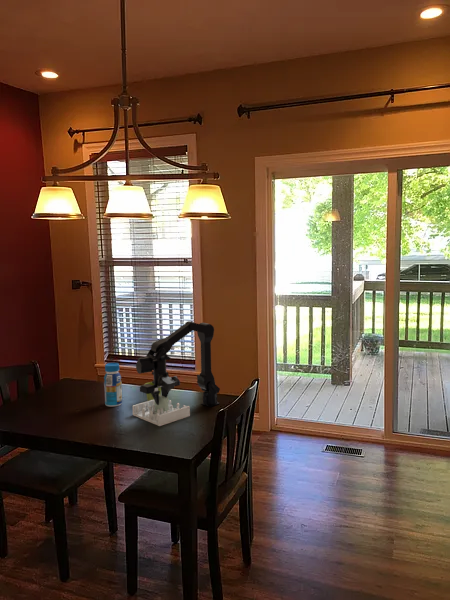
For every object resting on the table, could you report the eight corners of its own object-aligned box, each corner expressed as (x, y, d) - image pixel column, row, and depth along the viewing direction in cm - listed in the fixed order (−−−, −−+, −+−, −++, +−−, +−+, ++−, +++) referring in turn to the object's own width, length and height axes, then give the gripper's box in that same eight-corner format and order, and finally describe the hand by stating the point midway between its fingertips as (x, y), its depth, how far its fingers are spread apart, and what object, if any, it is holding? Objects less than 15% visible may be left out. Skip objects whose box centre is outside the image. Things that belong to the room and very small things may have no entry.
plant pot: (150, 405, 230) (149, 388, 229) (140, 401, 237) (140, 384, 236) (167, 401, 236) (166, 384, 235) (156, 397, 243) (156, 380, 242)
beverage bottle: (102, 403, 234) (100, 364, 232) (118, 400, 239) (116, 361, 237) (109, 408, 227) (107, 367, 225) (125, 404, 232) (123, 364, 230)
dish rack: (162, 406, 229) (162, 397, 229) (189, 415, 215) (189, 406, 215) (132, 415, 217) (132, 405, 217) (159, 426, 203) (159, 415, 203)
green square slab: (157, 411, 219) (157, 394, 218) (168, 415, 214) (167, 397, 213) (154, 411, 218) (154, 394, 217) (165, 416, 212) (165, 398, 212)
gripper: (153, 377, 202) (155, 413, 203) (187, 369, 215) (188, 402, 216) (138, 372, 209) (139, 407, 211) (171, 365, 223) (172, 397, 224)
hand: (160, 403), depth 215 cm, fingers open, 3 cm apart
